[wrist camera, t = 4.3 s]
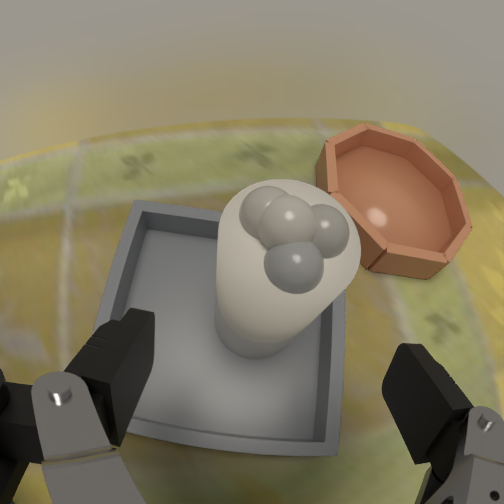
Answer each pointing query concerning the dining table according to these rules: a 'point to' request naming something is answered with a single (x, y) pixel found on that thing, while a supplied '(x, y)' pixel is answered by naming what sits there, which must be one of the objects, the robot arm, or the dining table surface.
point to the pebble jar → (279, 264)
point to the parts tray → (219, 348)
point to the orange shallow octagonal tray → (395, 200)
